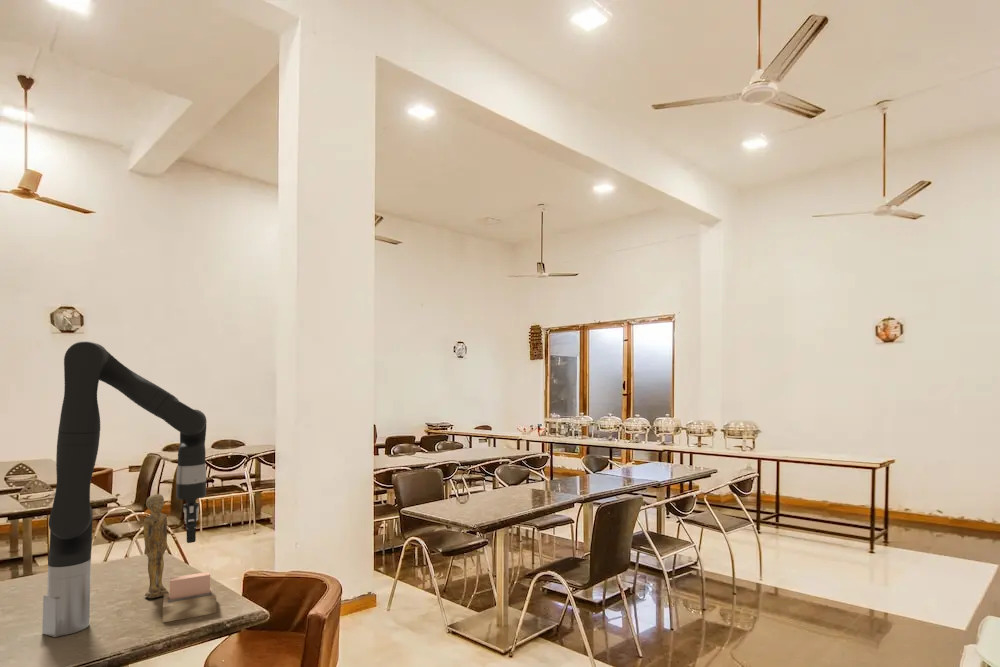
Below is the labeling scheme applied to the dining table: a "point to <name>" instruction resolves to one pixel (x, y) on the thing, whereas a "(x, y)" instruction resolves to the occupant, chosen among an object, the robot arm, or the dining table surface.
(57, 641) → the dining table surface
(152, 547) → the sculpture
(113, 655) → the dining table surface
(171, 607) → the dispenser
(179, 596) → the pink square prism
